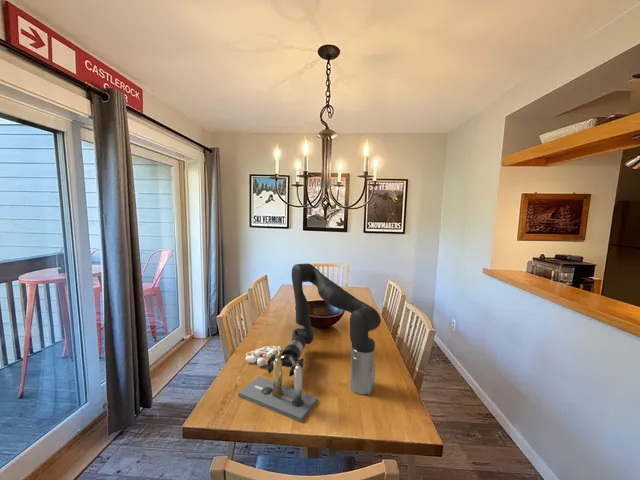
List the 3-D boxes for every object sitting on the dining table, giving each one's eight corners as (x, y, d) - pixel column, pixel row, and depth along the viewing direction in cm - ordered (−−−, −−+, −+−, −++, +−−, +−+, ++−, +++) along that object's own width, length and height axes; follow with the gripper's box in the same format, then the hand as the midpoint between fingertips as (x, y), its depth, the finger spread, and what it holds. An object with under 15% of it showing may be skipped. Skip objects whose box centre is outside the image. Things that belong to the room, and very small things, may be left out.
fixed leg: (303, 401, 104) (304, 365, 103) (299, 406, 102) (299, 369, 100) (296, 399, 106) (296, 362, 104) (292, 403, 103) (292, 366, 101)
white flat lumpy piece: (266, 347, 151) (266, 339, 150) (288, 351, 144) (288, 344, 143) (239, 362, 134) (239, 354, 134) (263, 369, 127) (263, 360, 126)
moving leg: (284, 393, 108) (284, 357, 107) (279, 398, 105) (279, 361, 104) (275, 390, 110) (275, 355, 108) (270, 394, 107) (270, 359, 106)
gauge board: (317, 401, 107) (317, 397, 107) (301, 422, 96) (301, 417, 96) (258, 379, 119) (258, 376, 119) (238, 396, 109) (238, 392, 109)
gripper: (277, 342, 126) (262, 361, 110) (308, 346, 123) (297, 366, 107) (277, 358, 127) (262, 379, 111) (308, 362, 124) (297, 384, 108)
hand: (279, 372), depth 109 cm, fingers open, 8 cm apart
